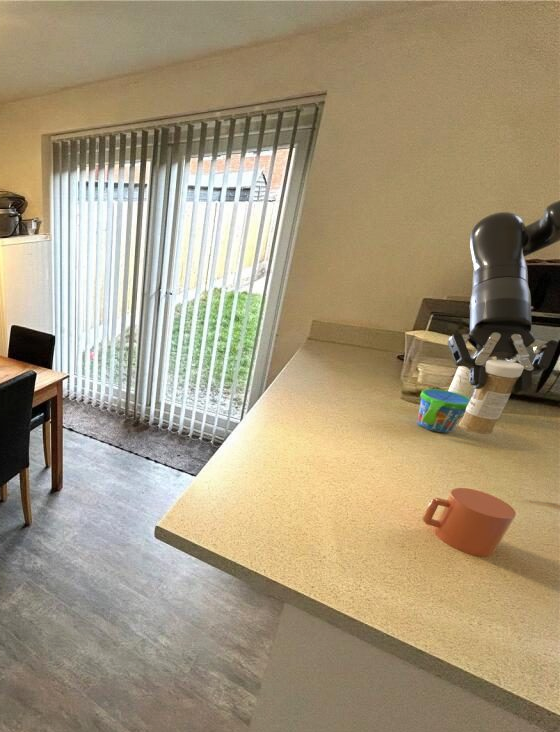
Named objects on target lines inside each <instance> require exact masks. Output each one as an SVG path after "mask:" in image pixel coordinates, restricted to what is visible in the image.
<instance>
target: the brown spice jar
mask: <svg viewBox="0 0 560 732" xmlns="http://www.w3.org/2000/svg"><path fill="white" fill-rule="evenodd" d="M484 367H485V368H486V370H485V386H484V387H482V388H481V389H475V390H474V393H473V395H472V397H471V399H470V401H469V404H468V406H467V408H466V411H465V414H464V416H462V417H461V419H460V420H459V422H458V426H459V427H460V428H461V429H463V430H464V431H467V432H470V433H474V434H479V435H490V434H492V433H493V431H494V427H495V425H496V424H497V421H498V419H499V418H500V417H501V415H502V413H503V411H504V409H505V406H506V404H507V403H508V400H509V398H510V396H511V395H512V391H513V390H514V385H515V383H516V380H517V379H518V377H520V376H521V374H522V371H523V369H524V366H522V365H521V364H518V363H515V362H511V361H506V359H490V360H488V361H486V363H485V365H484Z"/></svg>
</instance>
